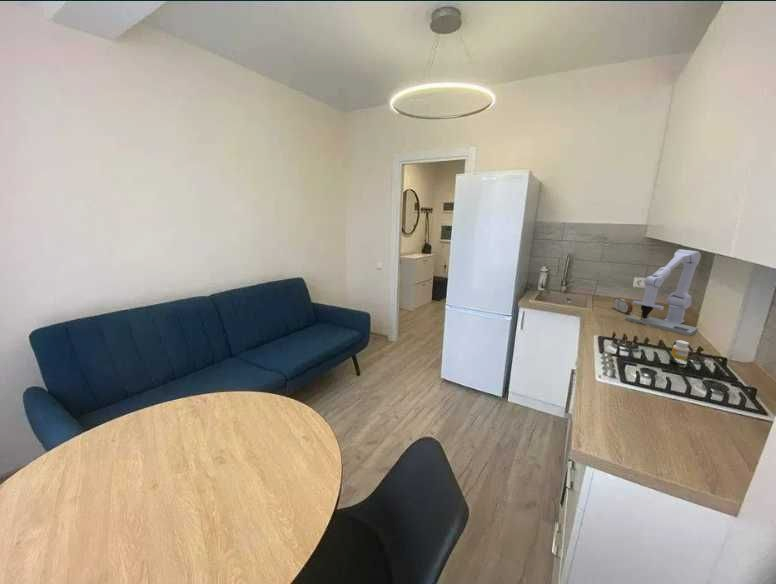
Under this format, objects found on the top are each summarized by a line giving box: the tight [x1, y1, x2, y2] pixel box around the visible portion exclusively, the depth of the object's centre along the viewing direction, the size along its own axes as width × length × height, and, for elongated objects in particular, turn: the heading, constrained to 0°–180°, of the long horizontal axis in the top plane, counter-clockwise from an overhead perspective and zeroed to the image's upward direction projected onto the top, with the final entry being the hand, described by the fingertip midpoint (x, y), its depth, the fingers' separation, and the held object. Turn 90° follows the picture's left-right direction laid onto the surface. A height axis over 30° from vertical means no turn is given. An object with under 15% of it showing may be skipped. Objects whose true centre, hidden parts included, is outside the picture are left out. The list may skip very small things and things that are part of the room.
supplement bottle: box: [670, 339, 690, 360], centre depth 139 cm, size 5×5×10 cm
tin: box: [613, 297, 633, 314], centre depth 213 cm, size 15×3×8 cm, turn 179°
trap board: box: [625, 313, 699, 337], centre depth 188 cm, size 14×30×2 cm, turn 35°
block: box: [632, 310, 643, 320], centre depth 193 cm, size 4×4×4 cm
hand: (644, 318), depth 191 cm, fingers closed
